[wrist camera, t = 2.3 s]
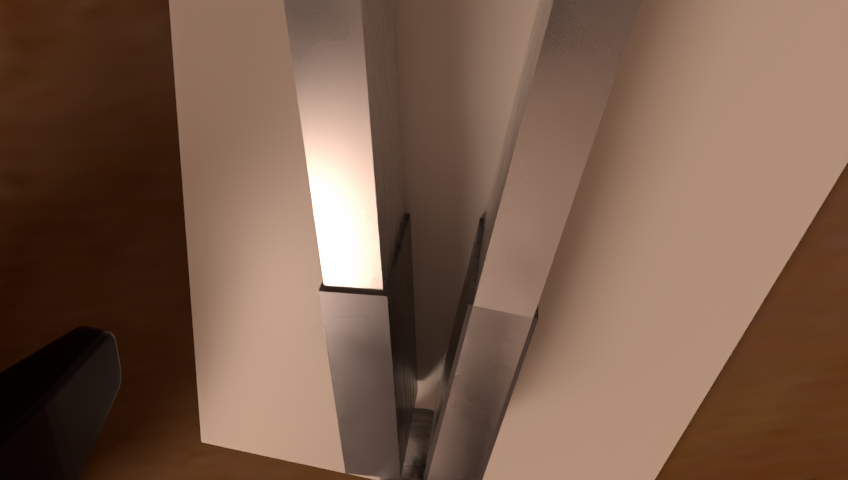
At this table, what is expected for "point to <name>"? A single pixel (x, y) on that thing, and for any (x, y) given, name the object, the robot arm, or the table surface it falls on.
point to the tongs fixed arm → (520, 231)
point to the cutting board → (467, 202)
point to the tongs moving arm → (359, 220)
